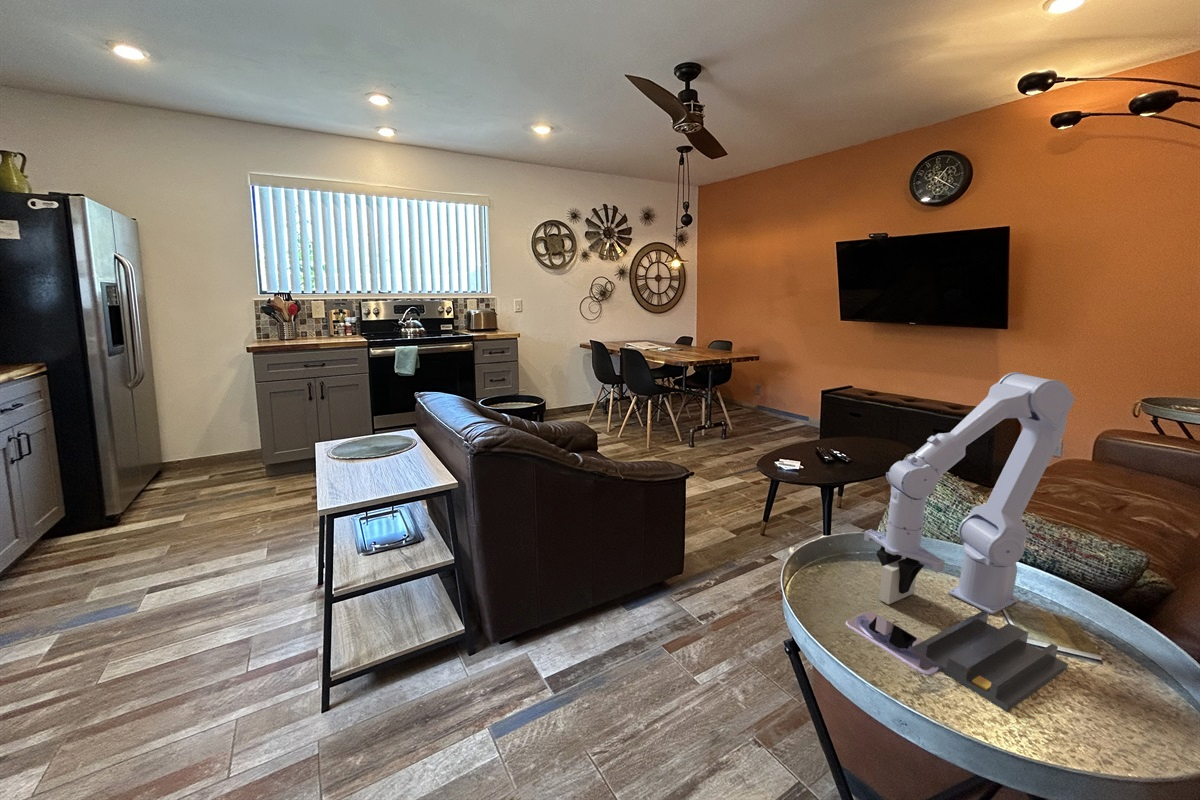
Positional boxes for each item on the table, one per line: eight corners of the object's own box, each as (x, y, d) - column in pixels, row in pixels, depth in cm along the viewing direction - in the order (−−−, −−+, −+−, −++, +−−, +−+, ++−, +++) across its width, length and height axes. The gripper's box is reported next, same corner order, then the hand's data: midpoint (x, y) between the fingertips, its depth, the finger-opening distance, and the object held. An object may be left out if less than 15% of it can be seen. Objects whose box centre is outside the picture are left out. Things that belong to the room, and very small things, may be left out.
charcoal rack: (971, 620, 94) (973, 605, 93) (1067, 669, 82) (1070, 652, 81) (910, 652, 86) (912, 636, 85) (1007, 711, 74) (1010, 693, 73)
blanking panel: (904, 588, 104) (908, 556, 103) (914, 593, 102) (918, 560, 101) (878, 599, 100) (882, 566, 99) (888, 604, 99) (892, 571, 97)
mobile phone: (869, 608, 97) (954, 656, 84) (869, 613, 97) (954, 662, 84) (842, 620, 93) (927, 673, 81) (842, 625, 94) (926, 678, 81)
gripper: (856, 514, 103) (850, 576, 105) (931, 544, 90) (922, 614, 93) (879, 506, 106) (873, 567, 109) (954, 535, 93) (945, 603, 96)
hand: (897, 588), depth 101 cm, fingers closed on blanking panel, 2 cm apart
